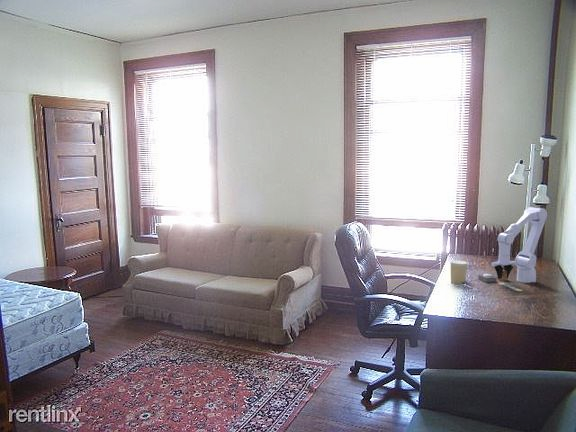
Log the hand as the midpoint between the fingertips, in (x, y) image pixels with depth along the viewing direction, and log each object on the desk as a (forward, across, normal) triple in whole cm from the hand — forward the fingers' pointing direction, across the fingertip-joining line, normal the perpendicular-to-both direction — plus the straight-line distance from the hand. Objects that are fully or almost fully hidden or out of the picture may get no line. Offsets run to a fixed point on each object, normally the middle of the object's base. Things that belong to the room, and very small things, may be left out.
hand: (502, 278), depth 251 cm
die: (+3, -6, -7) cm, 10 cm away
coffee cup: (+5, +20, -12) cm, 24 cm away
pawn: (+1, 0, 0) cm, 1 cm away
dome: (+3, +4, -8) cm, 9 cm away
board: (+5, +1, +2) cm, 5 cm away
